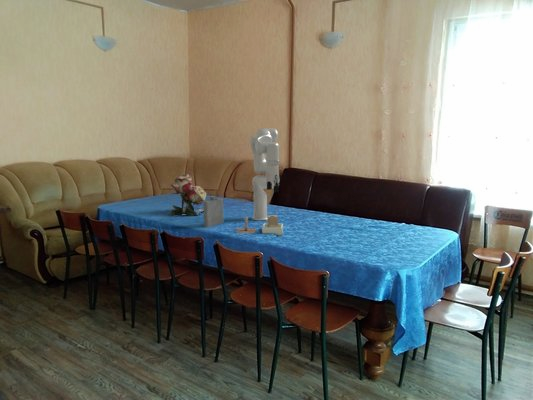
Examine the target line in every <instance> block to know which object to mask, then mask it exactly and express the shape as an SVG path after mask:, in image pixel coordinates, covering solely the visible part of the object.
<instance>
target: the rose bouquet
mask: <svg viewBox="0 0 533 400" xmlns="http://www.w3.org/2000/svg"><path fill="white" fill-rule="evenodd" d="M192 184H193V181H192V176H191V175H190V174H187V173H184V174H182V175H181V176H179V177H175V179H174V183H171V184H170V186H171V187H172V189H173V191H175V192H172V193H170V195H179V194H180V198H181V207H180V206H178V205H177V206H176V205H174V204H173V205H172V208H173V209H171V210H170V211H168V216H170V215H182V214H186V216H189V217H193V216H194V215H196V216H198V215H197V213H196V212H198V213H199V211H204V208H197V209H195V208H194V206H196V207H199V205H203V204H204V201H206V197H207V193H208V192H206V191H205V190H204V188H202V186H199V185H192ZM184 204H185V205H186V206H184ZM194 210H196V212H195V211H194Z"/></svg>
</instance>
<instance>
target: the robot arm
mask: <svg viewBox="0 0 533 400" xmlns="http://www.w3.org/2000/svg"><path fill="white" fill-rule="evenodd" d="M278 138H279V132H278V130H277V129H276V128H275V127H274V128H273V127H271V128H270V127H267V128H260V129H257V131H256V135H252V136H250V138H249V145H250V149H251V152H252V155H253V171H254V173H255V174H264V175H255V176H254V177H253V178H252V180H251V183H252V188H253V189H252V190H253V215H252V216H251V220H252V221H267V216H268V195H267V192H266V191H265V189H266V190H268V191H269V190H273V193H278V192H280V190H279V189H280V187H279V186H280V180H281V178H280V172H279V171H280V169H279V168H280V167H279V165H280V144H279V143H278V142H277V141H278Z"/></svg>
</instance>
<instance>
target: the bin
mask: <svg viewBox="0 0 533 400" xmlns="http://www.w3.org/2000/svg"><path fill="white" fill-rule="evenodd" d="M261 232H262V234H276V236H277V237H282V236H283V234H284V233H283V232H284V223H280V222H278V228H268V227H267V222H265V223H263V225H262V227H261Z"/></svg>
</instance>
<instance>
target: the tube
mask: <svg viewBox="0 0 533 400" xmlns="http://www.w3.org/2000/svg"><path fill="white" fill-rule="evenodd" d="M266 223H267V227H268V228H278V223H279V216H278V215H276V214H275V215H267V220H266Z"/></svg>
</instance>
